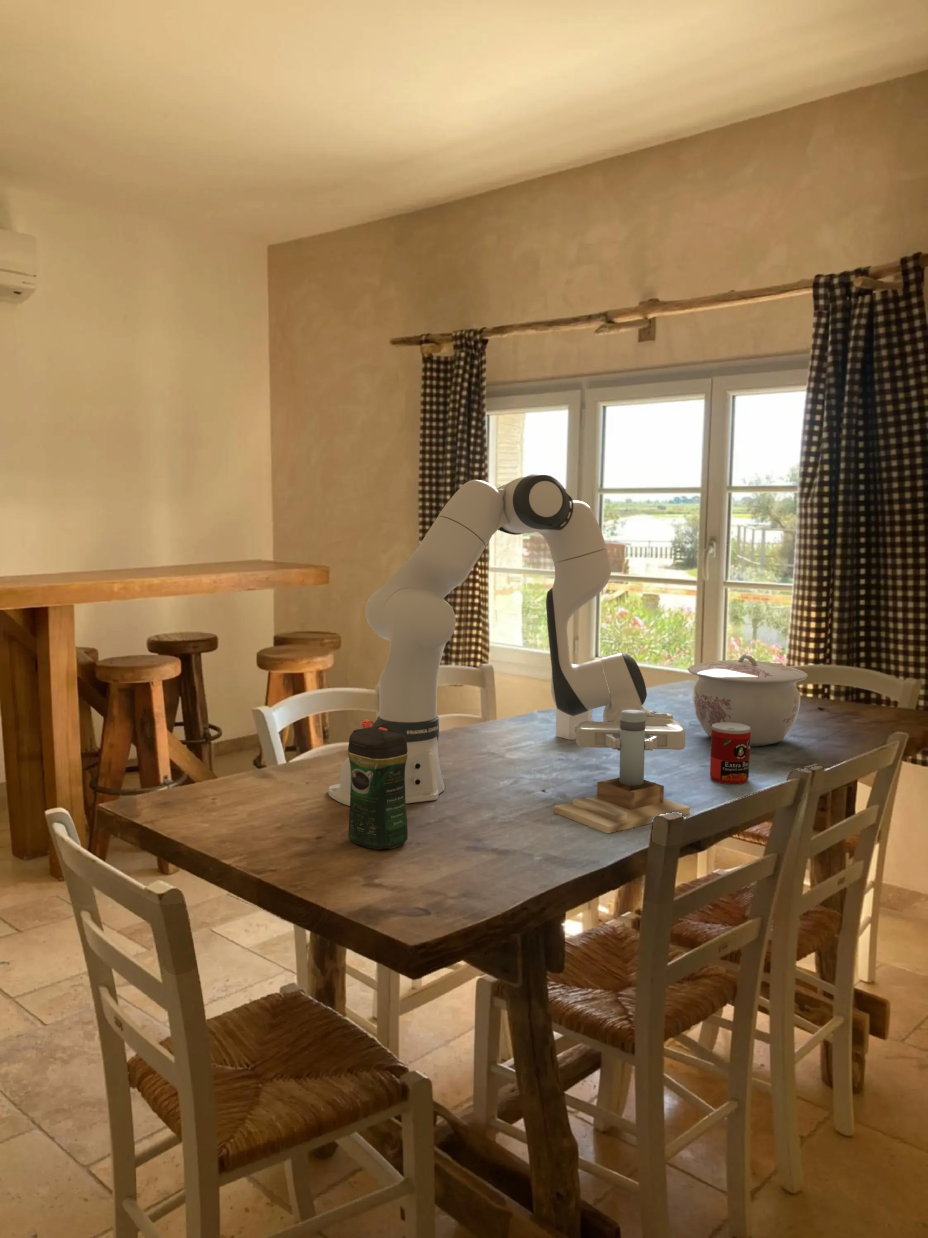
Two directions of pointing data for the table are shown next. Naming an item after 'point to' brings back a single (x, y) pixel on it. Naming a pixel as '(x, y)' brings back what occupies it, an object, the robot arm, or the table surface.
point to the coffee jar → (377, 788)
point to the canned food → (730, 752)
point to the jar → (570, 723)
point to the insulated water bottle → (632, 747)
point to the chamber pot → (748, 696)
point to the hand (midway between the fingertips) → (632, 745)
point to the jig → (620, 806)
